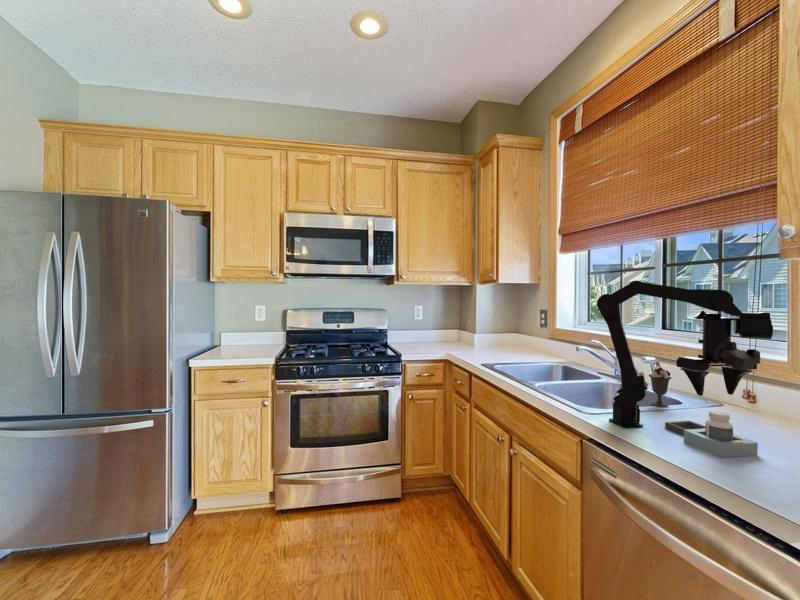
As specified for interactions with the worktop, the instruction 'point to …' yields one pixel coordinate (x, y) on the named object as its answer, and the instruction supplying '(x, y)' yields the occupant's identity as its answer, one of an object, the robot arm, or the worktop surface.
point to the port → (721, 444)
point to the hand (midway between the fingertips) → (715, 394)
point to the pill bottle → (719, 426)
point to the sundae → (660, 384)
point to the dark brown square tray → (682, 426)
